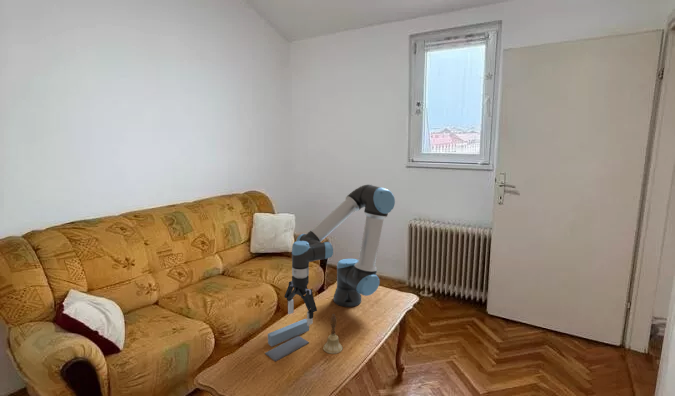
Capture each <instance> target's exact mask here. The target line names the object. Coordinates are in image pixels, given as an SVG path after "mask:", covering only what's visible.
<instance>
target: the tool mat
mask: <svg viewBox="0 0 675 396" xmlns="http://www.w3.org/2000/svg"><path fill="white" fill-rule="evenodd" d="M309 344H310V341H308V340H307V339H305V338H303V337H301V335H297V336H295V337H293V338H291V339H288V340H286V341H284V342H282V343H280V344H279V345H278V346H277V345H276V347H275V346H274V348H272V349H270V350H268V351H266V352H265V353H264V354H265V355H266V356H267V357H268V356H269V357H268V358H270V359H271V360H272V361H273V362H277V361H279V360H281V359H283V358H285V357H286V356H289V355H291V354H292V353H294V352H296V351H297V350H299V349H301V348H303V347H305V346H307V345H309Z"/></svg>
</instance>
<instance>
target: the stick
mask: <svg viewBox="0 0 675 396" xmlns="http://www.w3.org/2000/svg"><path fill="white" fill-rule="evenodd" d="M309 331H310V325H309V326H308V325H307V318H304V319H301V320H299V321H296V322H293V323H291V324H288V325H286V326H283V327H281V328H279V329H276V330H274V331H271V332H269V333H267V344H268V345H269V346H270V347H271V348H272V347H275V346H277V345H278V344H279V345H280V344H282V343H285V342H287V341H289V340H291V339H293V338H295V337H297V336H301V335H302V334H304V333H307V332H309Z"/></svg>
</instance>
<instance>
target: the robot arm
mask: <svg viewBox="0 0 675 396" xmlns="http://www.w3.org/2000/svg"><path fill="white" fill-rule="evenodd" d="M395 204H396V199H395V195H394V194H393V192H392V191H391V190H389V189H387V188H385V187H380V186H377V185H372V184H364V185H360V186H358V188H357V187H356V188H355V189H354V190H353V191H351V192H350V193H348V194H347V196H345V200H344V201H342V202H341V203H340V204H339V205H338V206H337V207H336V208H335V209H334V210H332V211H331V212H330V213H329V214H328V215H326V217H324V218H323V219H322V220H320V222H319V223H317V224H316V226H314V227H313V228H312V229H311V230H309V231H308V232H307V233H301V234H299V235H298V236H297V237H296V241H294V242H293V243H292V244H291V245H292V246H291V281H288V287H287V289H286V292H285V294H284V296H283V297H284V298H285V299H286V301H287V315H292V314H293V313H294V310H295V309H294V307H295V306H294V301H295V300H294V297H295V296H296V295H297V296H299V297H300V298H301V299H302V300H303V302H304V305H305V307H306V309H307V312H306V319H307V325H308V326H309V327H310V326H311V325H313V323H314V321H313V319H314V313H315V312H317V311H318V307H317V305H316V302H315V298H314V295H313V289H311V288H310V289H309V288H308V284H309V279H310V277H309V274H310V266H309V265H310V263H311V262H315V261H316V262H317V261H320V260H326V259H329V258H331V257H333V255H334V248H333V245H332V243H331V242H329V241H324V239H326V238H327V237H328V236H329V235H330V234H331V233H332V232H333V231H334V230H336V229H337V228H338V227H339V226H340V225H342V224H343V222H345V221H346V219H348V218H349V217H350V216H351V215H353V213H354V212H358V211H360V210H361V209H363V208H364V210H363V211H364V214H365V215H366V218H365V221H364V223H365V224H364V228H363V233H362V237H361V238H362V239H361V244H360V245H361V246H360V251H359V253H358V254H359V255H358V259H356V258H344V259H340V260H338V262H337V263H336V288H335V292H334V294H333V302H334V303H335V305H337V306H340V307H342V308H343V307H345V308H350V307H351V308H352V307H356V306H359V305H360V304H361V303H362V296H365V297H368V296H371V295H373V294H374V293H376V291H378V289H379V286H380V278H379V276H378V275H377V273H378V272H377V271H378V267H377V266H376V261H377V256H378V249H379V247H380V246H379V245H380V240H381V234H382V230H383V225H384V220H385V219H386V218H388V214H389V213H391V212H392V210H394V207H395ZM322 241H324V242H322Z"/></svg>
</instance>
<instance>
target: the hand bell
mask: <svg viewBox="0 0 675 396" xmlns="http://www.w3.org/2000/svg"><path fill="white" fill-rule="evenodd" d="M337 321H338V320H337V317H336V314H335V313H332V314H331V317H330V321H329V323H330V327H331V330H330V331H331V333H330V334H329V335H328V336H327V341H326V343H325V344H324V345H323V347H322V348H323V351H324V352H326V353H327V354H330V355H335V354H336V355H337V354H339V353H341V352H342V351H343V346H342V344H341V343H340V341H339V336H338V335H337V334H336V326H337Z"/></svg>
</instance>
